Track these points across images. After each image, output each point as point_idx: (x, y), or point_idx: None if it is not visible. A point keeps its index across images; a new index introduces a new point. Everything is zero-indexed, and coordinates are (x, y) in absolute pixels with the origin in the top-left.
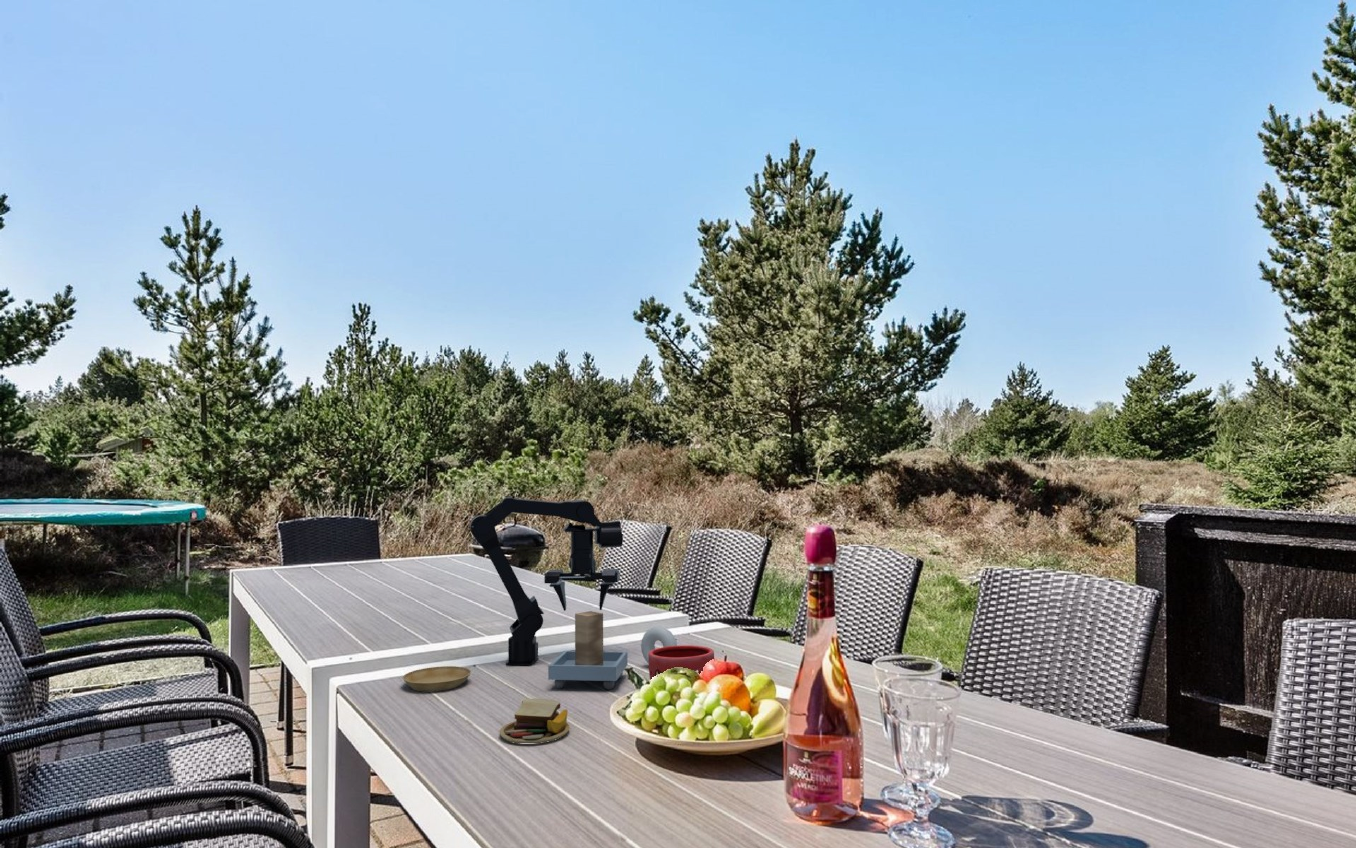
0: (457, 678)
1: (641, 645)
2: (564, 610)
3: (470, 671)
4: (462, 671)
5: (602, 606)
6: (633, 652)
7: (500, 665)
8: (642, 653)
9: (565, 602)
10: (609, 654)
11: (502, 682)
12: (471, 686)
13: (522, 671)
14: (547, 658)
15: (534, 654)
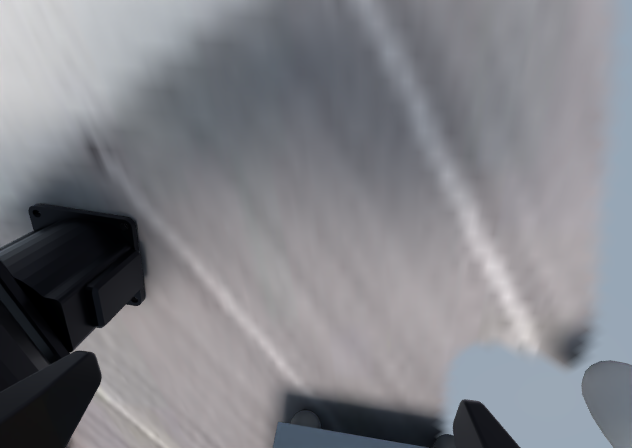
0: None
1: (605, 433)
2: (92, 380)
3: None
4: None
5: (502, 441)
6: (587, 98)
7: None
8: (586, 399)
9: (26, 446)
10: None
11: (140, 429)
12: (83, 443)
13: (146, 351)
14: (163, 194)
15: (126, 301)
